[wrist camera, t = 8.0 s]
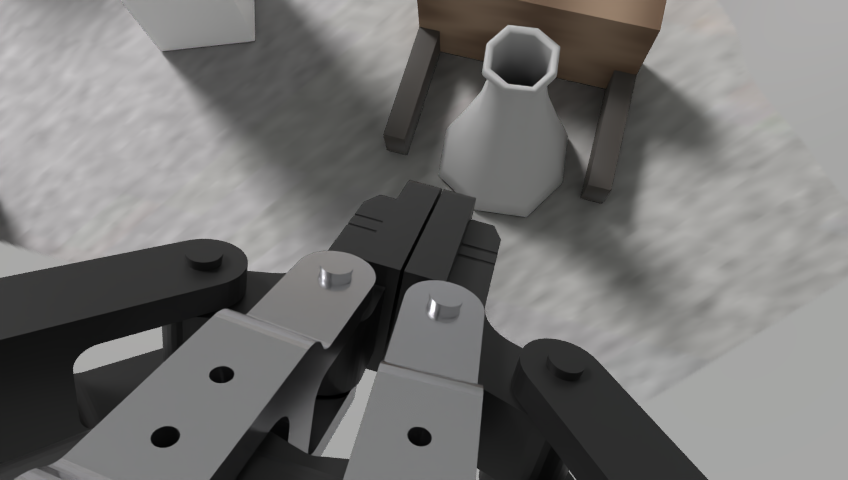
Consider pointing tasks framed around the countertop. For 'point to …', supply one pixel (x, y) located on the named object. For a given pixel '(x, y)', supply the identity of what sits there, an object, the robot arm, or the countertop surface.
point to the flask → (509, 128)
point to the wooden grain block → (578, 61)
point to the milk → (194, 22)
